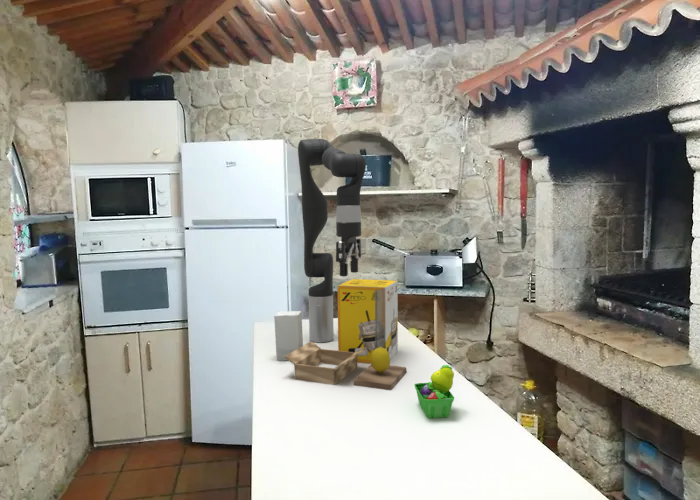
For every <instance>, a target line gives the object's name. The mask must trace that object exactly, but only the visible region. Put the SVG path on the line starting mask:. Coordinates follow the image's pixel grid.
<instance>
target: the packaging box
mask: <svg viewBox="0 0 700 500" xmlns="http://www.w3.org/2000/svg"><path fill="white" fill-rule="evenodd" d="M398 284H399V283H398V280H394V279H393V280H392V279H391V280H389V279H387V280H386V279H365V278H363V279H360V278H352V279H350V280H347V281H345V282H343V283H340V284H338V285H337V286H336V287H337V342H338V343H337V346H338V347H337V348H338V350H337V351H346V352H357V351H359V350H361V349H363V348H365V347H367V349H365V350H364V351H363V352H361V353H360V354H359V355H358V356H357V363H363V364H370V365H371V364H372V363H371V357H372V353H373V351H374V350H375V349H377V348H379V347H382V348H384V349H386V350H387V351H388V353H389V356H390V361H391V360H392V358H393V357H394V356H395V355H396V354H397V352H398V349H399V343H398V342H399V338H398V337H399V334H398V333H399V332H398V331H399V329H398V324H399V323H398V322H399V317H398V316H399V315H398V314H399V313H398V311H399V309H398V308H399V306H398V305H399V302H398V296H399V294H398V293H399V292H398V291H399V290H398V288H399V285H398Z"/></svg>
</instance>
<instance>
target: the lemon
mask: <svg viewBox="0 0 700 500" xmlns="http://www.w3.org/2000/svg"><path fill="white" fill-rule="evenodd" d="M371 363H372V366H373V368H374V369H375V370H376V371H378V372H379V373H382V372H383V371H385V370H387V369H388V367H389V365H390V364H391V360H390V356H389V353H388V351H387V350H386V349H384V348H382V347H379V348H377V349H375V350H374V351H373V353H372V357H371ZM371 363H370V364H371Z"/></svg>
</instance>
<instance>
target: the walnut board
mask: <svg viewBox="0 0 700 500" xmlns="http://www.w3.org/2000/svg"><path fill="white" fill-rule="evenodd" d="M406 373H407V367H406V366H400V365H399V366H398V365H389V367H388V369H387V370H385V371H383V372H382V373H379V372H378V371H376V370H375V369H374V368H373V366H372V364H371V363H370V365H368V366H367V367H366V368H365V369H364V370H363V371H362V372H360V373H359V375H357V376H356V377H355V378H354V379H353V386H358V387H365V388H366V387H367V388H373V389H381V390H388V391H391V390H393V388H394V387H395V386H396V385H397V383H398V382H399V381H400V380H401V379H402V378H403V377H404V375H405V374H406Z"/></svg>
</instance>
